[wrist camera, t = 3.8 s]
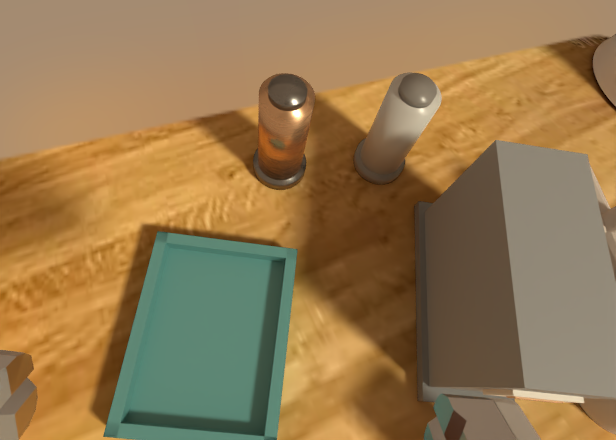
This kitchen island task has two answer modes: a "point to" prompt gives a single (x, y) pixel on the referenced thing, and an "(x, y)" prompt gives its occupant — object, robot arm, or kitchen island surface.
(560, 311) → the box
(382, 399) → the kitchen island surface
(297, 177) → the copper cartridge
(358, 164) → the cylinder
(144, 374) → the tray
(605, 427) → the light grey cylinder
